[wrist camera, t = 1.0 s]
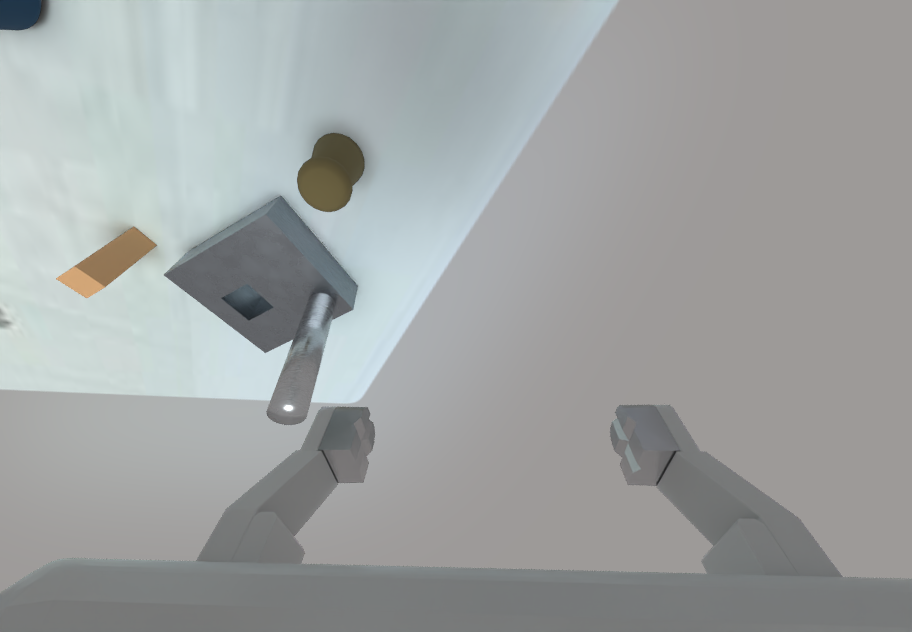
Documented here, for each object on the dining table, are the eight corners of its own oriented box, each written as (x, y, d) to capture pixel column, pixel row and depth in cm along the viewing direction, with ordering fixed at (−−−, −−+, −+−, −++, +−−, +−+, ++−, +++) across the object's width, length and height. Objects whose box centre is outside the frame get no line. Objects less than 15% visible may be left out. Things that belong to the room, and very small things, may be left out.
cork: (361, 191, 43) (351, 226, 35) (311, 178, 42) (288, 212, 33) (367, 141, 40) (358, 167, 32) (314, 125, 38) (288, 148, 30)
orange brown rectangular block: (117, 237, 43) (55, 278, 36) (133, 226, 43) (74, 266, 35) (140, 255, 45) (86, 298, 37) (156, 245, 45) (105, 287, 37)
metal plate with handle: (187, 251, 46) (40, 392, 27) (280, 195, 43) (186, 311, 24) (276, 327, 55) (213, 468, 37) (357, 286, 52) (332, 418, 34)
